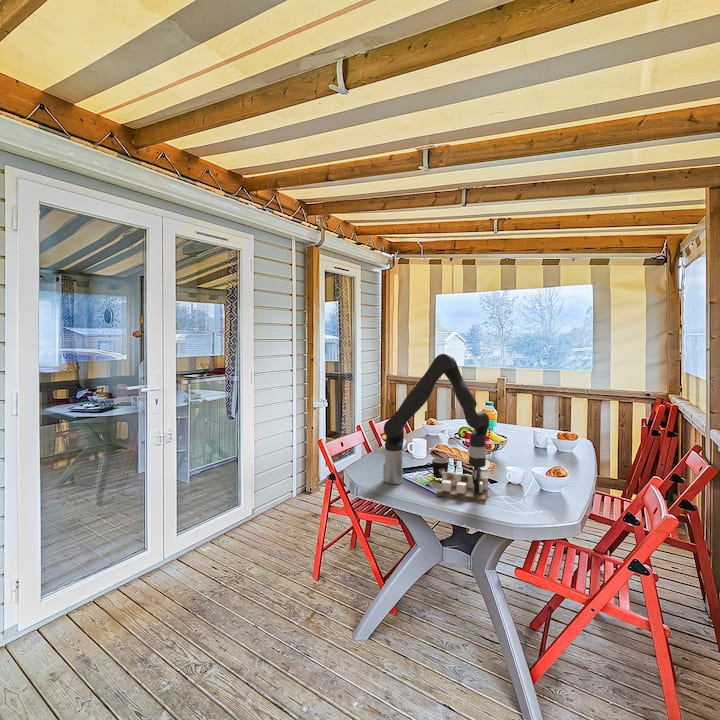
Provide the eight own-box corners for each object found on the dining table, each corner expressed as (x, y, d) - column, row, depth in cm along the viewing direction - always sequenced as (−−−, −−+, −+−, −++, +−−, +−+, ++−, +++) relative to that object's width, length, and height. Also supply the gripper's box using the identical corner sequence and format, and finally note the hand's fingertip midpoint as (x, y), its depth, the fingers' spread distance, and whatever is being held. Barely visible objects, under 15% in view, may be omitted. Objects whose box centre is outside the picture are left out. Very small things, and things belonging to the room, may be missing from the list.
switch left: (441, 490, 197) (441, 482, 197) (443, 487, 201) (443, 479, 200) (450, 491, 195) (450, 483, 195) (451, 488, 199) (451, 480, 199)
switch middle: (456, 492, 194) (456, 484, 194) (457, 489, 198) (458, 481, 198) (465, 494, 193) (465, 485, 192) (466, 491, 196) (466, 482, 196)
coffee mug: (449, 477, 222) (449, 459, 221) (446, 482, 214) (446, 463, 213) (428, 474, 226) (428, 456, 226) (424, 479, 218) (424, 461, 218)
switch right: (473, 491, 196) (473, 483, 195) (474, 488, 199) (474, 480, 199) (481, 492, 194) (482, 484, 194) (482, 489, 198) (483, 481, 197)
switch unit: (436, 495, 197) (437, 479, 196) (442, 487, 208) (442, 471, 207) (484, 503, 188) (485, 485, 188) (487, 493, 199) (488, 477, 199)
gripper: (471, 450, 199) (470, 485, 200) (466, 458, 187) (466, 495, 188) (487, 452, 196) (486, 488, 197) (484, 460, 184) (483, 498, 185)
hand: (476, 491), depth 193 cm, fingers closed
